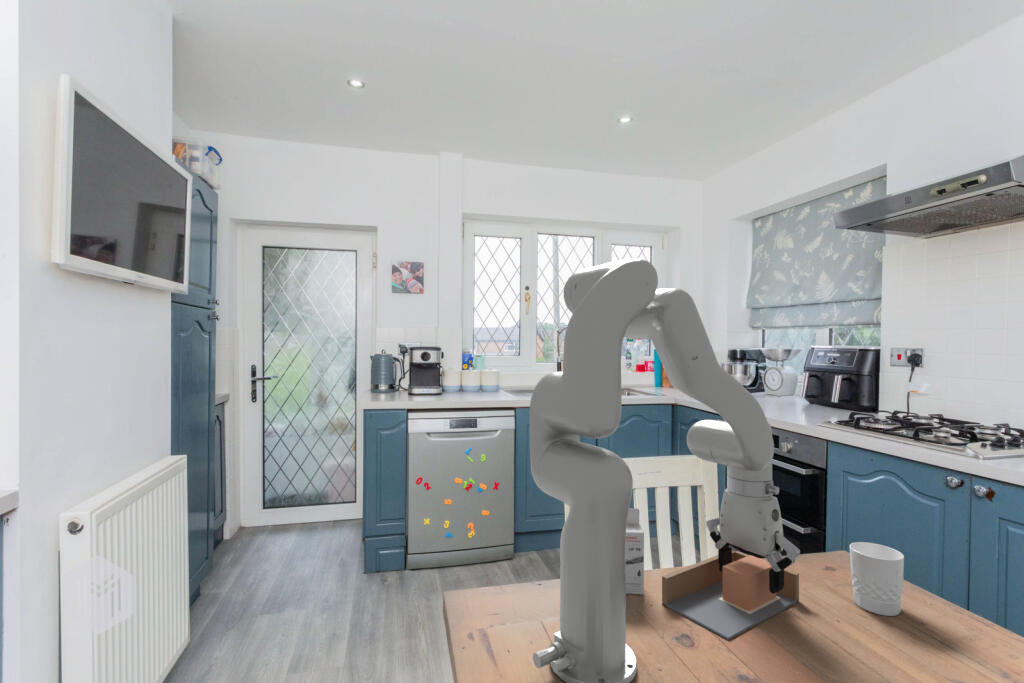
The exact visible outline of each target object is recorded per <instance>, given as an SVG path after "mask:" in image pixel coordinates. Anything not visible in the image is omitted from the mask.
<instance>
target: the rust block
mask: <svg viewBox="0 0 1024 683" xmlns="http://www.w3.org/2000/svg"><path fill="white" fill-rule="evenodd" d="M748 555H749V556H747V557H744V558H742V559H739V560H737V561H734V562H732V563H729V564H727V565H724V566H723V600H725V601H727V602H729V603H732V604H734V605H736V606H738V607H740V608H742V609H744V610H746V611H748V612H749V611H751V610H753V609H755V608H757V607H759V606H761V605H763V604H765V603H767V602H769V601H771V600H773V599H774V598H776V597H777V592H776V593H774V594H773V593H771V592H770V591H769V570H770V569H772V567H771V565H770V563H769V562H768V560H764V559H762V558H759V557H756V556H754V555H751V554H748Z"/></svg>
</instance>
